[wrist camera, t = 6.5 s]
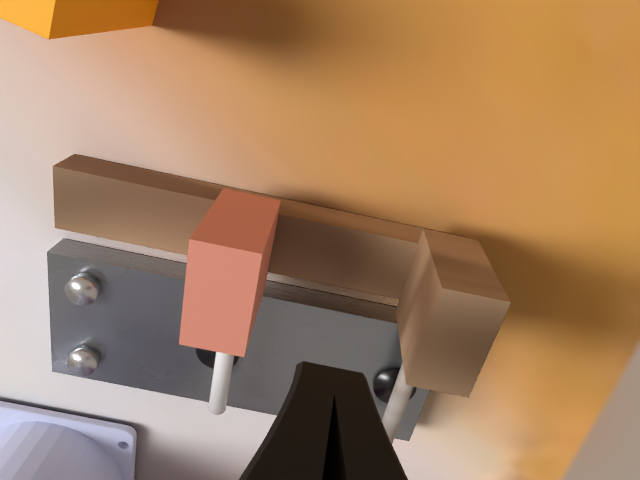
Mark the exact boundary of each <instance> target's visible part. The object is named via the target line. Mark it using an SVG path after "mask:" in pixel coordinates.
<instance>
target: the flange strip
mask: <svg viewBox="0 0 640 480" xmlns="http://www.w3.org/2000/svg"><path fill="white" fill-rule="evenodd" d="M47 261H48V284H49V307H50V330H51V353H52V372H57V373H63V374H68V375H73V376H78V377H83V378H88V379H93V380H98V381H104V382H109V383H114V384H119V385H124V386H129V387H134V388H139V389H145V390H150V391H155V392H160V393H165V394H170V395H175V396H180V397H186V398H191V399H196V400H201V401H206V402H209V399H210V392H211V385H212V378H213V371H214V364H215V357H216V352H215V351H210V350H205V349H200V348H195V347H190V346H185V345H180V344H179V338H180V327H181V317H182V307H183V297H184V287H185V277H186V267H187V264H185V263H180V262H175V261H170V260H165V259H160V258H155V257H151V256H146V255H141V254H136V253H131V252H126V251H121V250H117V249H112V248H107V247H102V246H97V245H92V244H88V243H83V242H78V241H73V240H68V239H62V240H61V241H60V242H59V243H57V244H56V245H55V246H54V247H53V248H51V249H50V250H49V251H48V252H47ZM396 309H397V307H393V306H389V305H384V304H379V303H374V302H369V301H364V300H359V299H355V298H350V297H345V296H340V295H335V294H330V293H325V292H321V291H316V290H311V289H306V288H301V287H296V286H291V285H287V284H282V283H277V282H272V281H267V280H266V285H265V289H264V293H263V296H262V299H261V303H260V306H259V310H258V313H257V316H256V320H255V323H254V326H253V330H252V333H251V337H250V340H249V343H248V347H247V350H246V353H245V357H240V356H235V355H234V360H233V366H232V373H231V379H230V385H229V391H228V397H227V403H226V405H227V406H232V407H237V408H242V409H247V410H252V411H257V412H262V413H267V414H273V415H278V413H279V411H280V409H281V407H282V405H283V403H284V401H285V399H286V396H287V394H288V392H289V389H290V387H291V384H292V381H293V377H294V373H295V368H296V364H298V363H300V362H302V361H306V362H311V363H316V364H321V365H326V366H331V367H336V368H341V369H346V370H351V371H356V372H361V373H363V374H364V376H365V377H366V378H367V382H368V385H369V388H370V391H371V394H372V396H373V399H374V402H375V405H376V407H377V410H378V413H379V415H380V418H381V420H382V419H383V416H384V413H385V410H386V408H387V405H388V402H389V399H390V396H391V394H392V391H393V388H394V385H395V382H396V380H397V377H398V374H399V371H400V368H401V366H402V363H403V360H402V353H401V347H400V340H399V333H398V326H397V319H396ZM428 393H429V390H428V389H423V388H418V387H413V390H412V392H411V395H410V398H409V400H408V403H407V406H406V408H405V411H404V414H403V416H402V419H401V421H400V424H399V427H398V429H397V432H396V435H395V437H394V438H396V439H401V440H406V441H409V440H410V438H411V435H412V433H413V430H414V428H415V425H416V423H417V420H418V418H419V415H420V413H421V410H422V408H423V405H424V403H425V400H426V398H427V395H428Z"/></svg>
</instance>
